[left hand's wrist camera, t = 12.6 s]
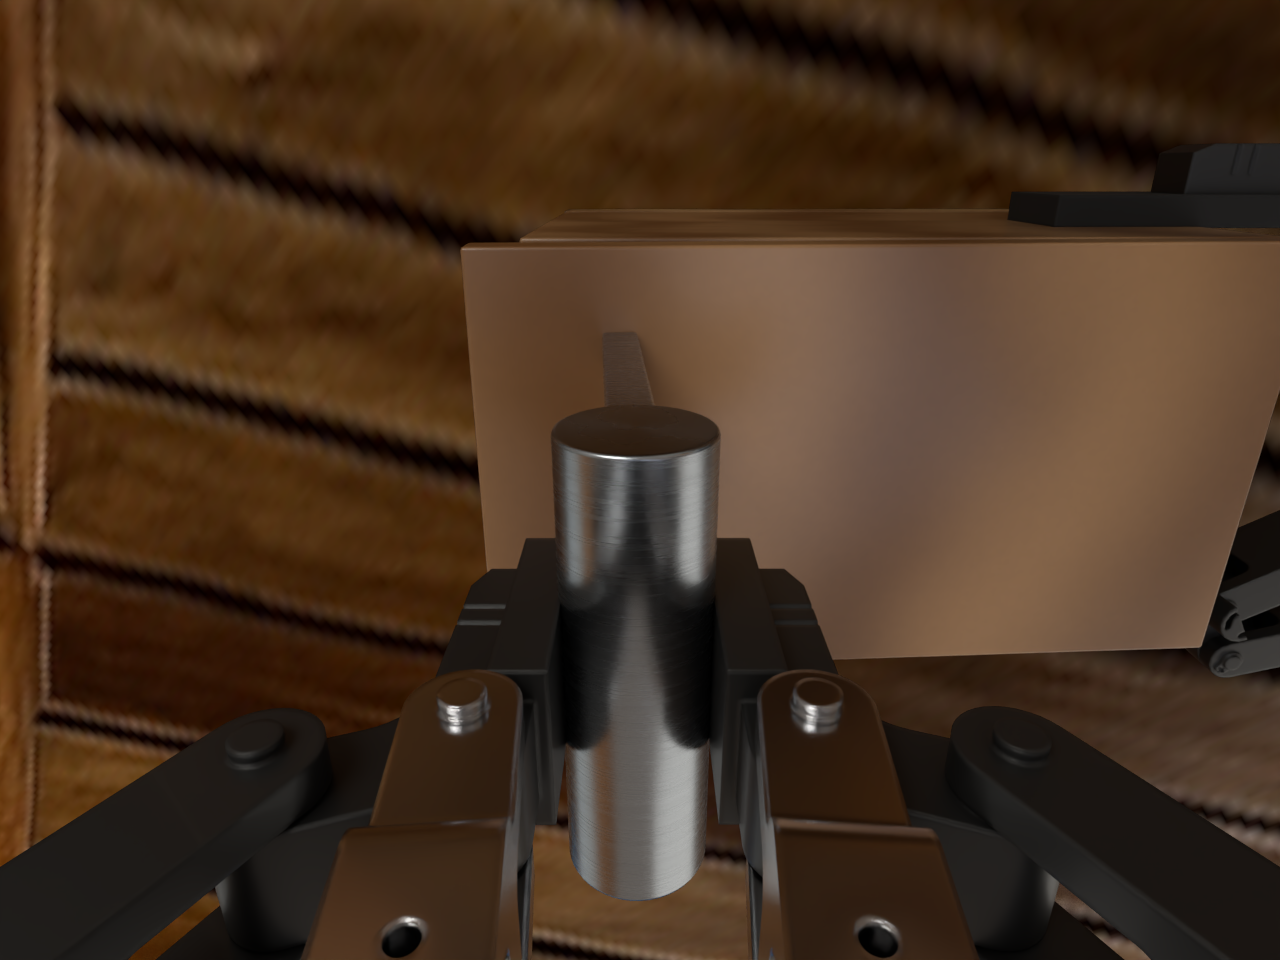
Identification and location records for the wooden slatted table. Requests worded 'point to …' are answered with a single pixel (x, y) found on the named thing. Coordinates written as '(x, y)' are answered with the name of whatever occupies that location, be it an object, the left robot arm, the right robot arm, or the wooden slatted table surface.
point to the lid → (853, 465)
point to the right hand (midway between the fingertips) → (998, 401)
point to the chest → (828, 226)
